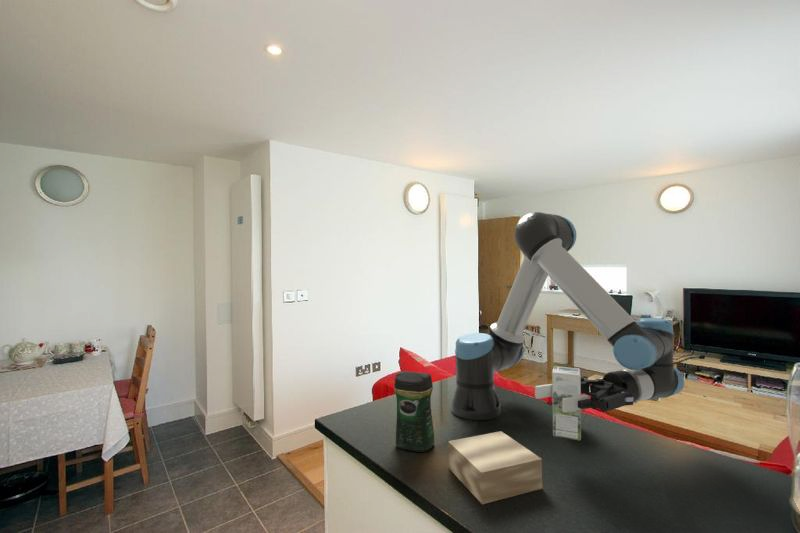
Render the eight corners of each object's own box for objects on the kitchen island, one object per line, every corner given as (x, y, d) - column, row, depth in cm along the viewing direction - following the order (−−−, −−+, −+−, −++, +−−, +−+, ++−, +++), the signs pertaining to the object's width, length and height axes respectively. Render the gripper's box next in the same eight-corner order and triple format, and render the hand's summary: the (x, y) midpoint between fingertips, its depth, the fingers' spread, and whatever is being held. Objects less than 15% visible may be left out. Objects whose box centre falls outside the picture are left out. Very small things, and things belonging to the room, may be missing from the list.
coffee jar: (438, 442, 97) (436, 370, 97) (426, 456, 90) (425, 378, 90) (404, 435, 101) (402, 366, 101) (391, 448, 94) (389, 374, 94)
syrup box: (580, 430, 86) (580, 367, 86) (581, 442, 80) (580, 374, 80) (553, 426, 88) (553, 364, 88) (552, 437, 83) (551, 371, 83)
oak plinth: (448, 468, 84) (448, 441, 84) (501, 456, 89) (501, 431, 89) (482, 504, 71) (481, 472, 71) (542, 488, 76) (541, 458, 76)
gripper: (669, 418, 80) (587, 435, 73) (591, 388, 100) (519, 399, 92) (669, 383, 80) (586, 397, 73) (591, 360, 100) (519, 369, 92)
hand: (549, 398), depth 83 cm, fingers closed on syrup box, 8 cm apart
